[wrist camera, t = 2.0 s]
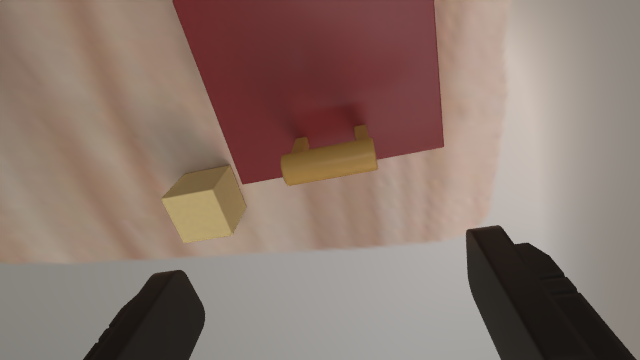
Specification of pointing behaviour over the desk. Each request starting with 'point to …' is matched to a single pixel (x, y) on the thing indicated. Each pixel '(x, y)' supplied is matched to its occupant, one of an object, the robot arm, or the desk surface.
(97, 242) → the desk surface
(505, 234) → the robot arm
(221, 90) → the cover
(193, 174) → the tan cube
